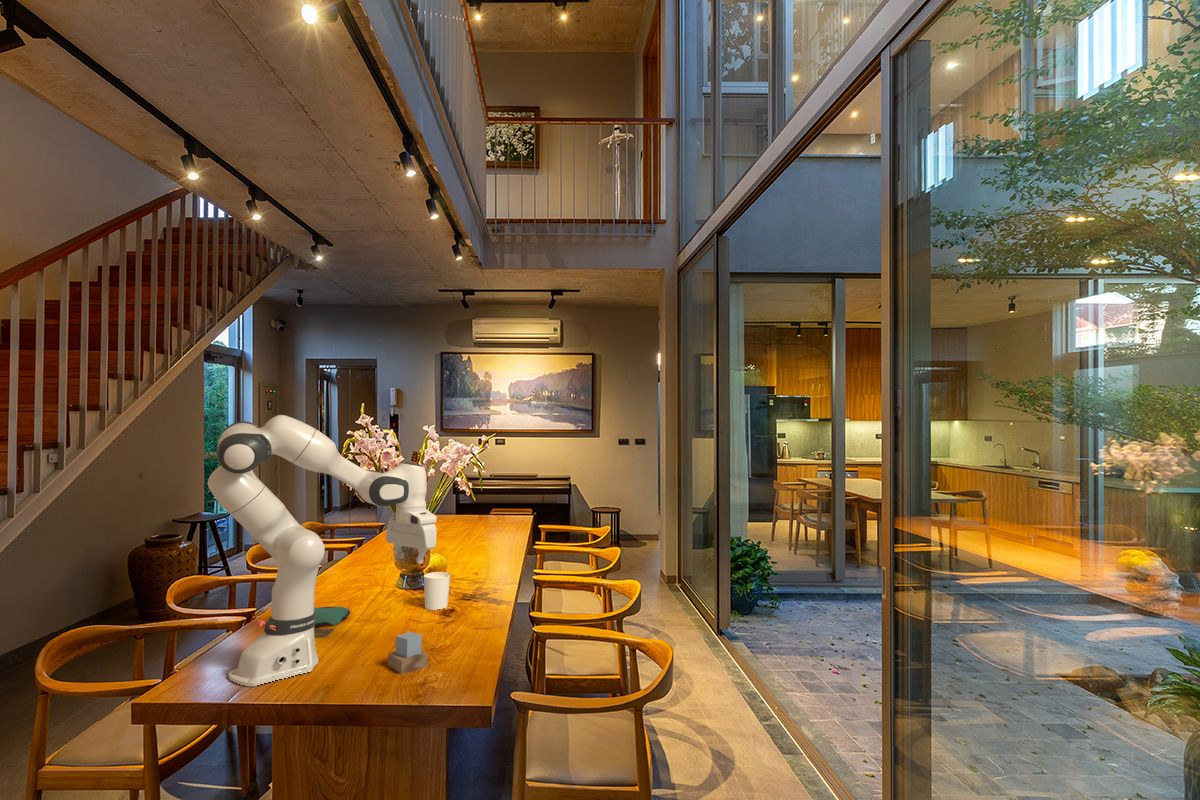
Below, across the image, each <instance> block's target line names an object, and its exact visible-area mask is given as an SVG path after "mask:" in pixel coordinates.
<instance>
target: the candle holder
mask: <svg viewBox="0 0 1200 800" xmlns="http://www.w3.org/2000/svg"><path fill="white" fill-rule="evenodd" d="M450 581H451V573H448V572H444V571H435V572H434V571H433V572H428V573H425V574H424V575H423V592H424V594H423V596H424V597H423V598H424V608H425V610H428V609H429V610H428V611H438V610H437V609H441V610H444V609H443V608H445V609H446V608H448V605H449V594H450Z"/></svg>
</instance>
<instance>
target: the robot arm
mask: <svg viewBox="0 0 1200 800" xmlns="http://www.w3.org/2000/svg"><path fill="white" fill-rule="evenodd" d="M215 454H216V458H217V461H218V463H219V466H218V467H217V468H215V470H213V471H212V473H211V474H210V475H209V478H208V480H207V486H208V489H209V491H210V492H211V494H212V495H213V497H214V498H215V499H216V501H217V502H218V504H219V505H220V506H222V507H223V509H225V511H227V513H228V514H229V515H231V516H232V518H234V519H235V521H236V522H238V523H239V524H240V525H241V526H242V527H243V528H244V529H245V530H246V531H247V532H248V533H249V534H250V535H251V536H252V537H253V539H255V541H256V542H257V543H258V544H259V545H260V546H261V547H262V548H263V549H264V550H265V552H267V553H268V554H269V555H270V557H272V558H273V559H274V560H276V561H277V563H278V565H277V572H276V577H275V581H274V584H273V586H272V589H271V610H270V616H269V618H268V620H267V621H266V620H263V619H258V620H257V622H256V626H257V628H261V629H264V630H263V632H262V633H261V634H260V635H259V636H257V638H255V640H253V642H252V643H250V644H249V645H248V646H247V647H246V648H244V650H242V652H241V654H240V656H239V660H238V665H237V668H235V669H231V670H230V671H229V672H228V680H230V681H231V682H232V681H233V683H234V682H235V684H236V683H237V685H239V684H240V685H239V686H243V685H244V687H258V686H257V685H259V686H261V685H260V684H263V685H265V684H264V683H267V684H269V683H268V682H271V683H273V682H272V681H274V682H276V681H275V680H278V681H280V680H279V679H282V680H285V679H284V678H286V679H289V678H288V677H290V678H292V677H291V676H294V677H296V676H295V675H298V674H302V675H304V674H303V673H306V674H308V673H307V672H310V673H311V671H312V672H313V670H314V667H315V666H317V665H318V664H319V662H320V661H319V657H318V652H317V649H316V640H315V639H316V638H314V635H315V633H314V632H315V631H314V630H315V628H316V626H315V622H316V613H315V612H314V607H315V596H316V593H315V592H316V583H317V578H318V574H319V569H320V565H321V561H322V560H323V559H324V555H325V551H326V548H325V544H324V542H323V540H322V538H321V537H320V535H318V533H316V532H315V531H312V530H310V529H307V528H305V527H304V526H302V525H301V524H300V523H299V522H298V521H297V520H296V518H294V516H293V515H292V514H291V513H290V511H289V510H288V509H287V508H286V505H285V504H284V503H283V502H282V501H281V500H280V499H279V498H278V497H277V496H276V495H275V494H274V493H273V491H271V490H270V488H269V487H267V486H266V485H265V484H264V482H262V480H260V478H258V477H257V475H256V474H255V473H254V471H253V470H255V469H256V468H257V467H259V466H260V465H261V464H262V463H264V462H266V461H267V460H268V459H270V458H271V456H272V455H275V456H279V457H281V458H283V459H285V460H287V461H288V462H290V463H291V464H294V465H296V466H298V467H299V468H301V469H305V470H308V471H311V472H314V473H322V474H327V475H328V476H331V477H332V478H335V479H336V480H339V481H340V482H342V483H343V484H346V485H347V486H349V487H351V488H352V489H353V490H354V492H355V493H356V494H357V496H358V497H359V498H360V500H362V501H363V502H365V503H367V504H370V505H374V506H377V507H379V508H380V507H382V508H386V507H391V506H394V505H396V506H395V507H396V508H395V509H396V510H395V512H393V513H392V514H391V515H389V520H388V522H387V526H386V534H385V540H386V542H387V543H389V544H392V545H393V548H394V552H395V553H396V554H395V555H396V556H395V557H396V558H395V559H397V560H403V559H404V558H405V553H404V552H403V548H402V547H408V548H414V549H417V553H418V555H417V557H416V556H415V564H423V563H424V558H425V555H426V553H427V551H429V550H434V549H435V547H436V545H437V526H436V523H437V519H438V518H437V516H436V515H435V514H434V513H432V512H431V511H429V509H428V508H427V501H426V495H427V490H428V489H427V487H428V486H427V472H426V468H425V467H424V466H423V465H421V464H418V463H412V462H407V461H405V462H403V461H402V462H400V463H399V464H398V465H397V466H396V467H395V466H394V468H392V469H390V470H388V471H385V472H380V471H376V470H367V469H365V468H362V467H361V466H359V465H357V464H355V463H353V462H352V461H351V460H348V459H347V458H346V457H344V456H343V455H341V454H340V452H339V450H338V448H337V447H336V443H335V442H334V441H333V440H332V439H331V438H329V436H327V435H325V434H324V433H322V432H321V431H320V430H318V429H317V428H315V427H313V426H311V425H310V424H307V423H305V422H303V421H301V420H298V419H296V418H294V417H291V416H288V415H285V414H278V415H275V416H273V417H272V418H270V419H269V420H268V421H267V422H265V425H263V426H261V427H259V426H258V425H257V424H255V423H254V422H251V421H246V420H243V421H237V422H233V423H231V424H229V425H228V426H227V427H226V428H225V429H224V430H223V432H222V434H221V435H220V437H219V439H218V442H217V448H216V453H215ZM316 664H317V665H316ZM298 676H299V675H298Z"/></svg>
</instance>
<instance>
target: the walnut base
mask: <svg viewBox="0 0 1200 800" xmlns="http://www.w3.org/2000/svg"><path fill="white" fill-rule="evenodd" d="M387 655H388V658H387V659H388V661H387V663H388V664H387V667H388V666H389V668H390V669H392V670H393V671H395V672H397V673H398V674H400V675H401V674H402V675H404V674H408V673H412V672H414V671H418V670H422V669H426V668H428V665H429V653H427V652H425V651H424V650H422V649H421V653H420V654H417V655H414V656H411V657H408V658H405V657H402V656H399V655H396V654H395V651H392V652H388V654H387Z"/></svg>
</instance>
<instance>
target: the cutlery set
mask: <svg viewBox="0 0 1200 800" xmlns="http://www.w3.org/2000/svg"><path fill="white" fill-rule="evenodd" d="M350 610H351V609H349V608H347V607H345V606H344V607H343V606H322V607H321V606H320V607H315V606H314V612H315V613H316V622H315V630H314V637H318V638H325V637H324V636H328V637H329V634H331V633H332V631H333V630H335V628H334V627H333V628H318V627H319V626H325V625H330V624H331V626H333V625H335V626H338V625H339V623H340V622H341V621H342V620H345V619H346V618H347V617H349V616H350V614H351V611H350ZM337 624H338V625H337ZM317 626H318V627H317ZM316 627H317V628H316ZM316 634H317V635H316Z"/></svg>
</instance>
